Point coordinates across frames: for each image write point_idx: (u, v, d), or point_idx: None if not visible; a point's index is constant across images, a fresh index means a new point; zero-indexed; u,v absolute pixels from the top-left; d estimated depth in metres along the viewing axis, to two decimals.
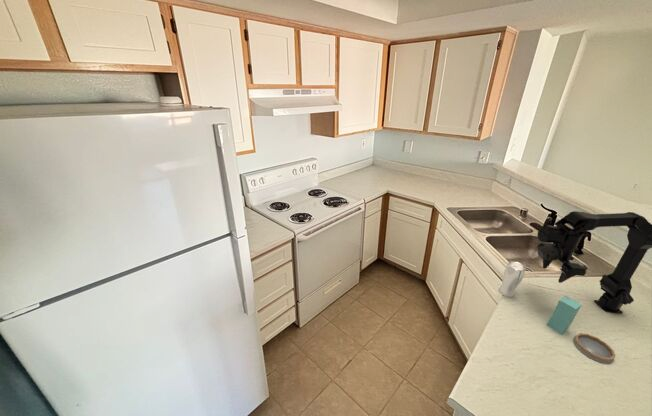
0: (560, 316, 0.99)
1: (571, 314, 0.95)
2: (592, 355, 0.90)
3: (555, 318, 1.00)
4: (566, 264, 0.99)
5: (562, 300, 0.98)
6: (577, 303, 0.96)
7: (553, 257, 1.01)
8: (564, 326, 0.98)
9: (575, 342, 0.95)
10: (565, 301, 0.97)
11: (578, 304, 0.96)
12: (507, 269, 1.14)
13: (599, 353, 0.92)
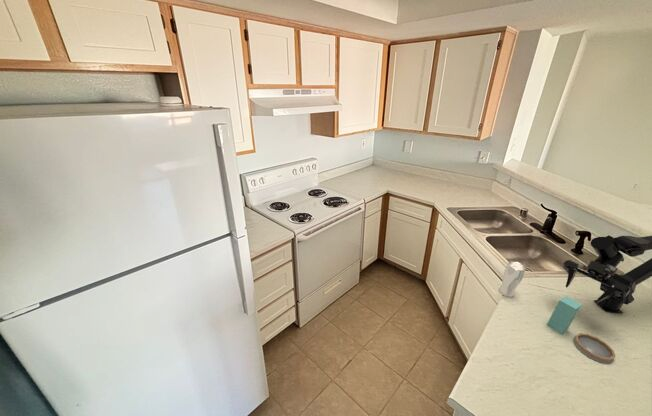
0: (560, 316, 0.99)
1: (571, 314, 0.95)
2: (592, 355, 0.90)
3: (555, 318, 1.00)
4: (619, 282, 0.94)
5: (562, 300, 0.98)
6: (577, 303, 0.96)
7: (614, 272, 0.93)
8: (564, 326, 0.98)
9: (575, 342, 0.95)
10: (565, 301, 0.97)
11: (578, 304, 0.96)
12: (507, 269, 1.14)
13: (599, 353, 0.92)
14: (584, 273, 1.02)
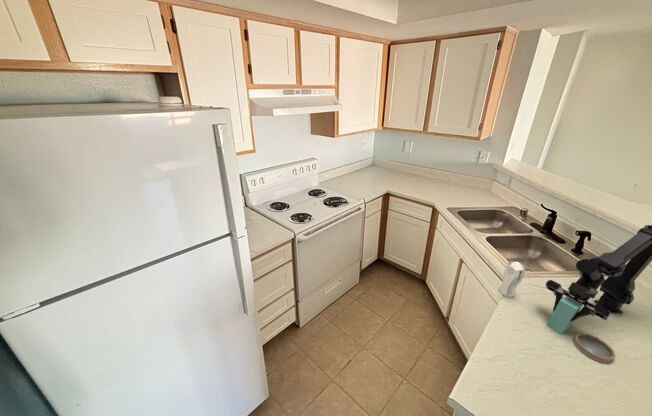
0: (560, 316, 0.99)
1: (571, 314, 0.95)
2: (592, 355, 0.90)
3: (555, 318, 1.00)
4: (599, 305, 0.93)
5: (563, 300, 0.98)
6: (578, 303, 0.96)
7: (595, 295, 0.92)
8: (564, 326, 0.98)
9: (575, 342, 0.95)
10: (566, 301, 0.97)
11: (579, 304, 0.96)
12: (507, 269, 1.14)
13: (599, 353, 0.92)
14: (566, 294, 1.01)
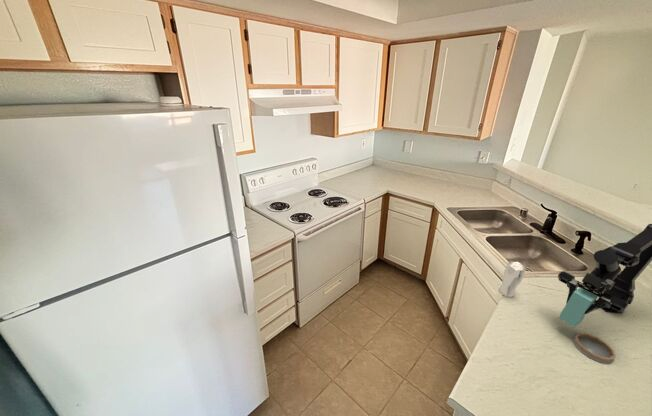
0: (573, 309, 0.95)
1: (586, 306, 0.91)
2: (592, 355, 0.90)
3: (568, 311, 0.96)
4: (616, 296, 0.89)
5: (576, 292, 0.93)
6: (592, 295, 0.92)
7: (611, 286, 0.88)
8: (577, 319, 0.94)
9: (575, 342, 0.95)
10: (580, 293, 0.93)
11: (594, 296, 0.92)
12: (507, 269, 1.14)
13: (599, 353, 0.92)
14: (580, 286, 0.97)
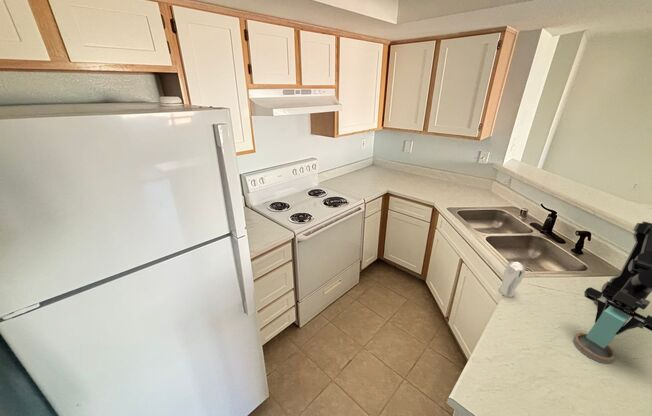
0: (603, 329, 0.88)
1: (618, 327, 0.85)
2: (592, 355, 0.90)
3: (596, 331, 0.90)
4: (651, 317, 0.82)
5: (607, 311, 0.87)
6: (625, 315, 0.86)
7: (646, 306, 0.81)
8: (608, 340, 0.88)
9: (575, 342, 0.95)
10: (611, 312, 0.87)
11: (626, 316, 0.85)
12: (507, 269, 1.14)
13: (599, 353, 0.92)
14: (609, 303, 0.91)
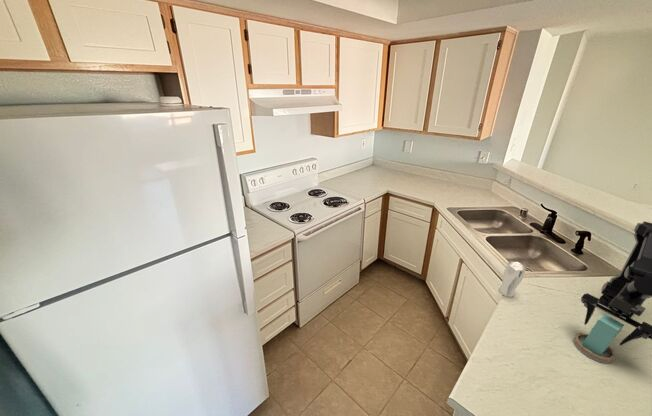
0: (598, 337, 0.90)
1: (612, 335, 0.86)
2: (592, 355, 0.90)
3: (592, 339, 0.91)
4: (646, 323, 0.83)
5: (602, 319, 0.89)
6: (619, 323, 0.87)
7: (642, 312, 0.83)
8: (603, 348, 0.89)
9: (575, 342, 0.95)
10: (605, 321, 0.88)
11: (620, 325, 0.87)
12: (507, 269, 1.14)
13: None
14: (605, 309, 0.92)
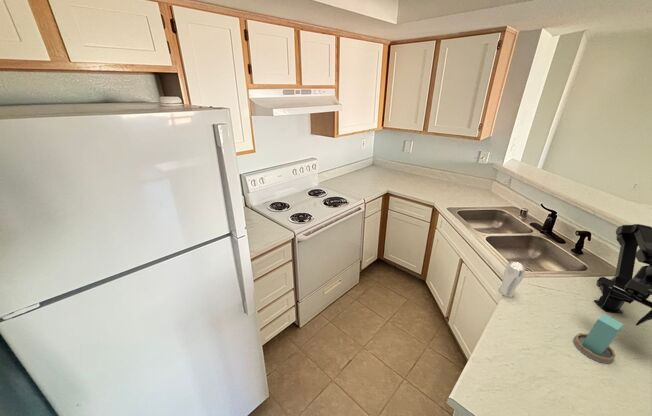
0: (598, 337, 0.90)
1: (612, 335, 0.86)
2: (592, 355, 0.90)
3: (591, 339, 0.91)
4: None
5: (601, 319, 0.89)
6: (618, 323, 0.88)
7: None
8: (603, 348, 0.89)
9: (575, 342, 0.95)
10: (604, 320, 0.88)
11: (619, 324, 0.87)
12: (507, 269, 1.14)
13: None
14: (621, 292, 0.94)
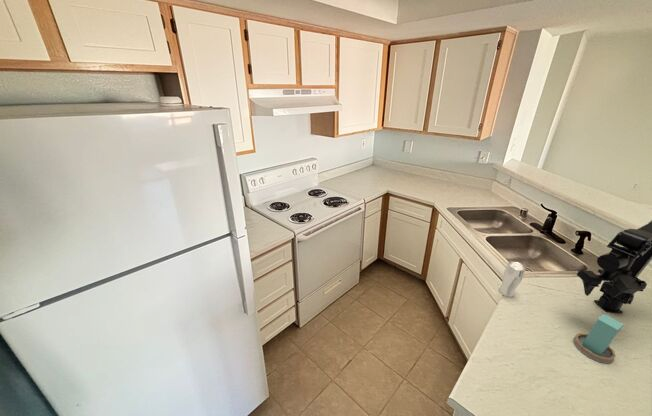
0: (598, 337, 0.90)
1: (612, 335, 0.86)
2: (592, 355, 0.90)
3: (591, 339, 0.91)
4: None
5: (601, 319, 0.89)
6: (618, 323, 0.88)
7: None
8: (603, 348, 0.89)
9: (575, 342, 0.95)
10: (604, 320, 0.88)
11: (619, 324, 0.87)
12: (507, 269, 1.14)
13: None
14: None
